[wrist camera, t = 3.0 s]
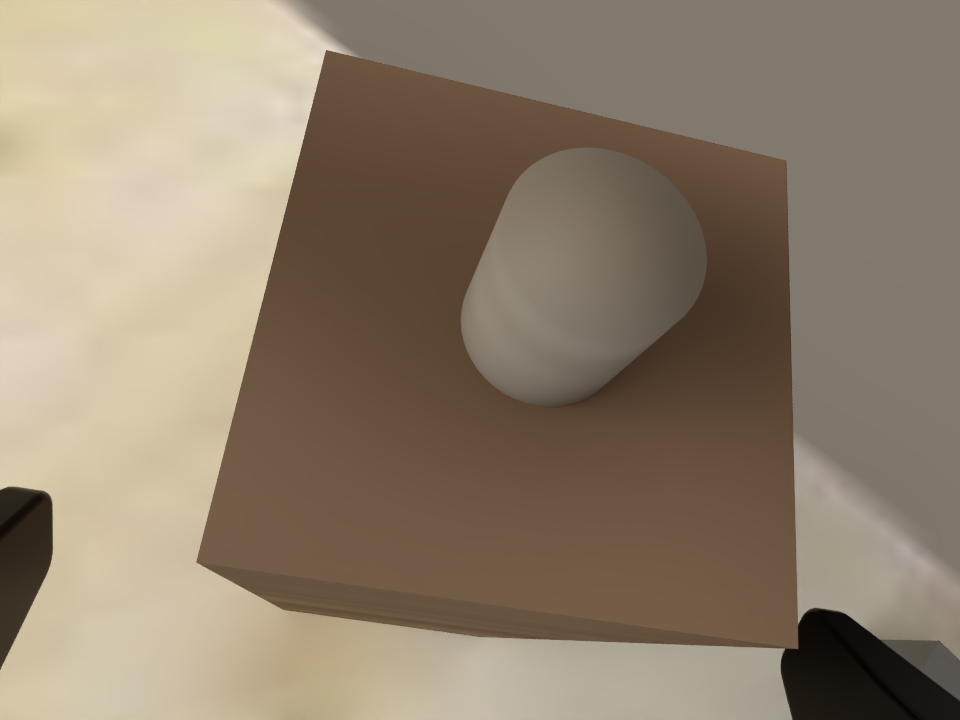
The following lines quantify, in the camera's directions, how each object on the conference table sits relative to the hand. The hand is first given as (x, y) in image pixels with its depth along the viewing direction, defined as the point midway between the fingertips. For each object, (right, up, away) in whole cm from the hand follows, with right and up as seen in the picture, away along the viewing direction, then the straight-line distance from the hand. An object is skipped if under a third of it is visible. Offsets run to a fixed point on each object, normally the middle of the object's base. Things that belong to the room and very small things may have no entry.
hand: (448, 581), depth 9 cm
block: (-2, -1, +9) cm, 9 cm away
